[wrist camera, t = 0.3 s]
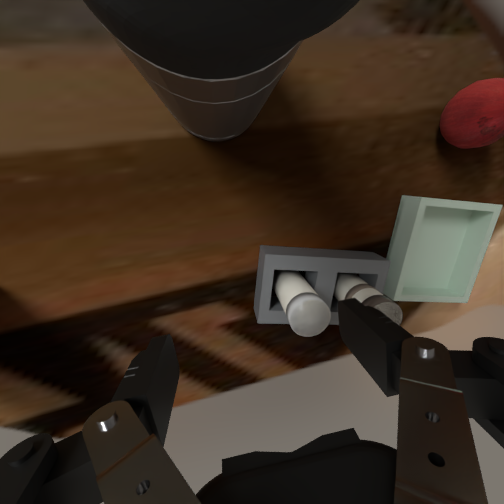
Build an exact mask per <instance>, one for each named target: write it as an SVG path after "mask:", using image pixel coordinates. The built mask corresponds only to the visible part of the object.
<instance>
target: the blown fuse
mask: <svg viewBox="0 0 504 504" xmlns="http://www.w3.org/2000/svg"><path fill="white" fill-rule="evenodd" d="M333 296H334V297H335V298H336V299H337V300H338V301H340V300H345V299H350V298H356V299H357V300H358V301H360V302H361V303H362V304H363V305H365V306H371V307H373V308H376V309H378V310H380V311H381V312H383V313H384V314H385V315H386V316H387V317H389V318H390V319H392V320H393V322H396V323H397V324H398V325H399V326H400V324H401V322H402V318H403V313H402V309H401V308H400V306H399V305H397V304H396V303H395V302H393V301H392V300H391V299H389V298H388V297H386V296H384V295H383V294H382V293H380V292H379V291H378V290H377V289H376V288H374V287H373V286H371V285H369V284H368V283H366V282H365V281H364V280H362V279H361V278H360V277H358V276H357V275H356V274H354V273H340V272H338V273H337V278H336V283H335V288H334V293H333Z"/></svg>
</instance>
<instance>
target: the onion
mask: <svg viewBox="0 0 504 504" xmlns="http://www.w3.org/2000/svg"><path fill="white" fill-rule="evenodd" d="M439 125H440V131H441V134H442V136H443V137H444V139H445V140H446V141H447V142H448V143H450V144H452V145H454V146H456V147H458V148H463V149H469V148H477V147H482V146H486V145H489V144H491V143H494V142H496V141H497V140H498V139H500V138H501V137H503V136H504V78H493V79H486V80H480V81H477V82H475V83H473V84H471V85H469V86H467V87H465V88H464V89H462V90H460V91H459V92H458V93H457V94H456V95H455V96H454V97H453V98H452V99H451V100H450V101H449V102H448V104H447V105H446V106H445V109H444V111H443V113H442V115H441V118H440V124H439Z"/></svg>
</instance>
